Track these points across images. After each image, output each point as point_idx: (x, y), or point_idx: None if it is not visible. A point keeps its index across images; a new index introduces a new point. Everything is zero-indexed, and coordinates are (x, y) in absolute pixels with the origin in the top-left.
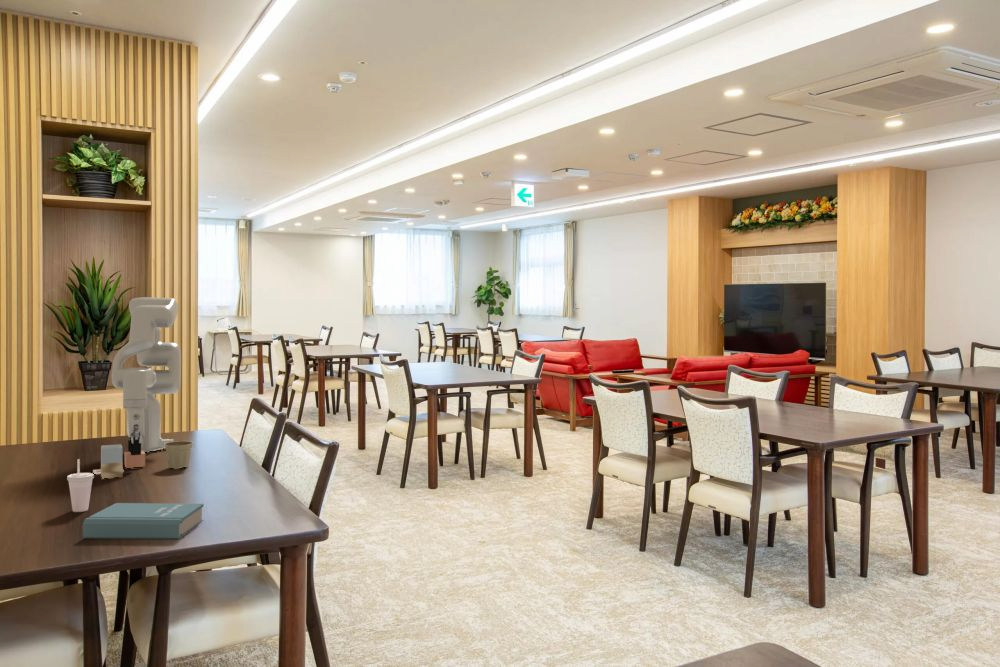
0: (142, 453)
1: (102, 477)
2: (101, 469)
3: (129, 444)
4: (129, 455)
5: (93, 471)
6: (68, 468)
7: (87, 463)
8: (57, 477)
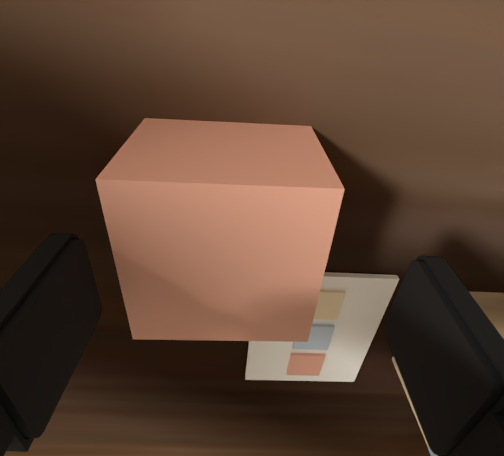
0: (321, 217)
1: None
2: None
3: (66, 379)
4: (312, 316)
5: (292, 380)
6: (132, 426)
7: None
8: (312, 447)
